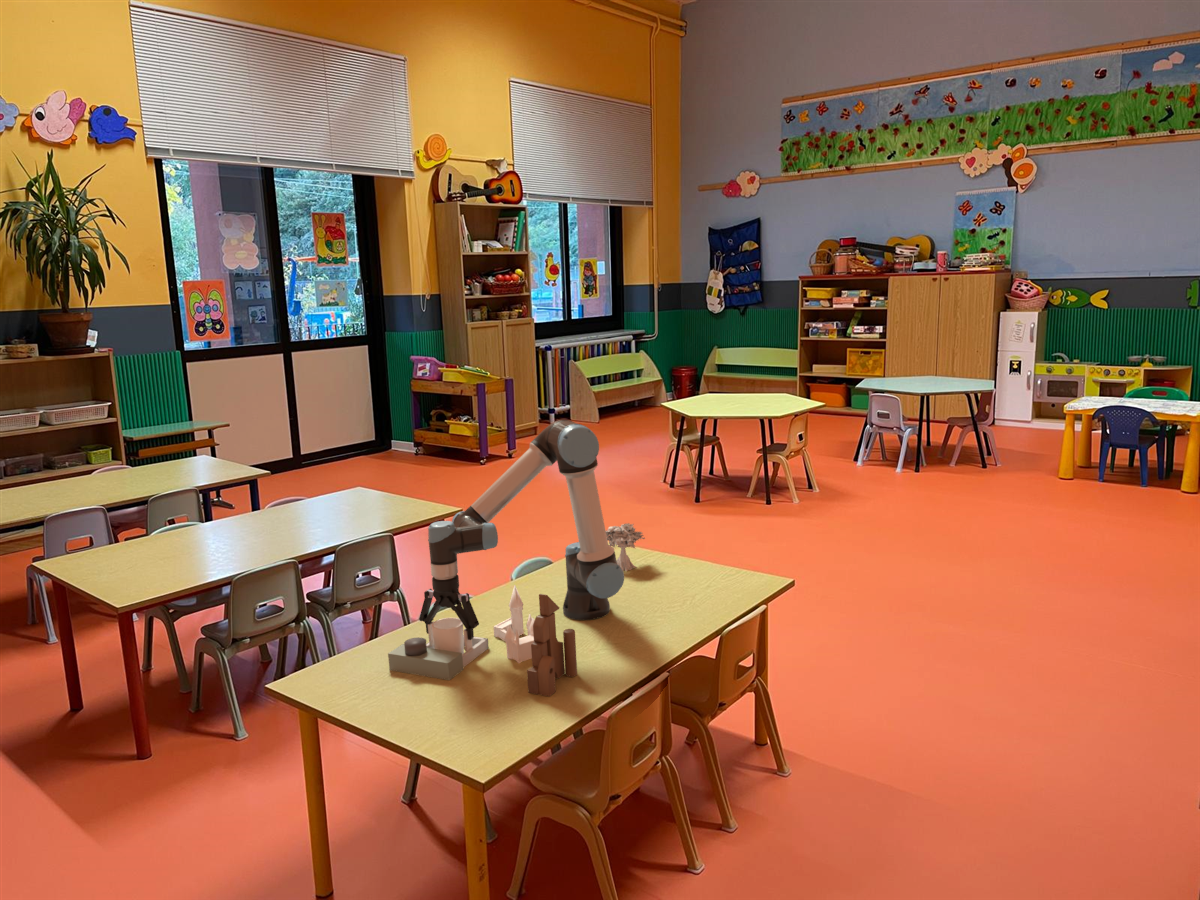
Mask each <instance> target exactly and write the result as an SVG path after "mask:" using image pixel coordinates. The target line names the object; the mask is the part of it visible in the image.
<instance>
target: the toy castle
mask: <svg viewBox="0 0 1200 900" xmlns="http://www.w3.org/2000/svg"><path fill="white" fill-rule="evenodd" d="M513 586H514V587H513V589H512V593H511V596H510V601H509V603H508V607H509V611H510V616H511V617H509V618H507V619H505V620H503V621H501V622H499V623H498V624H495V625H493V637H495V638H498V639H501V640H502V641H504V642H505V645H506V656H507V657H506V658H507V659H508V660H514V661H516V662H517V663H518V664H521V662H525V661H528V660H532V652H531V644H532V643H533V642H535V641H534V634H533V624H534V621H535V618H534V617H532V615H531V613H529V614H528V619H527V623H526V626H525V627H526V629H527V635H526V636H523V635H524V634H525V633H524V617H523V616H524V615H523V610H524V603H523V600H522V597H521V595H520V593H519V591H518V588H517V587H516V584H514V585H513ZM522 634H523V635H522ZM520 635H521V636H523V637H520Z"/></svg>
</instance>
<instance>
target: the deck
mask: <svg viewBox="0 0 1200 900" xmlns="http://www.w3.org/2000/svg"><path fill="white" fill-rule="evenodd" d="M463 639H464V634H463ZM464 647H465V642H464ZM488 649H489V638H487V637H479V636H474V638H473V639H472V648H470V649H469V650H468V651H464V654H462V653H459V652H453V651H446V650H440V649H435V646H434V645H432V646H429V642H428V643H427V640H426V638H424V637H420V636H419V637H411V638H409V639H407V640H405V641H404V642H403V643H402V644H400V645H399V646H397V647H396V648H394V649H393V650H391V651H389V652H388V653H387V657H388V669H389V671H393V672H400V673H404V674H411V675H417V676H422V677H428V678H433V679H440V680H446V681H450V680H452V679H453V678H454V677H455V676H457V675H459V674H460V673H461V672H462V671H464V668H465V667H466V666H467V665H468V664H470V663H472V662H473V660H475V659H476V658H478V657H479V656H480V655H481V654H483V653H484V652H485V651H487V650H488Z"/></svg>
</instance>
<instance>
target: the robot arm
mask: <svg viewBox="0 0 1200 900" xmlns="http://www.w3.org/2000/svg"><path fill="white" fill-rule="evenodd" d="M599 451H600V442H599V440H598V437H597V435H596V434H595V432H594V431H593V430H592V429H590V428H589V427H587V426H586V425H585V424H584V425H583V424H580V423H576V422H574V421H572V420H570V419H559V420H556V421H554V422H552V423H550V424H549V425H548V426H546V427H545V428H544V429H543V430H542V431H540V433H539V434H538V435H537V436H536V437H534V439H532V440H531V442H529V448H528V449H527V450H526V451H525V452H524V453H523V454H522V455H521V456H520V457H519V458H518V459H517V460H516V461H515V462H514V463H512V464H511V465H510V467H508V469H506V471H505V472H504V473H502V475H500V476H499V477H498V478H497V479H496V480H495V481H494V482H493V483H492V484H491V485H490V486H489V487H488V488H487V489H486V490H485V491H484V492H483V493H482V494H481V495H480V496H479V497H477V499H476V500H475V501H474V502H473V503H472V504H471V505H470V506H469V507H467V508H466V510H462V511H459V512H457V513H455V515H453V517H452V519H451V520H440V521H439V520H438V521H434V522H432V523H430V525H428V528H427V529H428V530H427V532H428V533H427V535H428V538H427V541H428V547H429V559H430V572H431V576H432V577H431V585H432V588H428V589H427V590H425V591H424V592H423V593H424V595H423V596H424V599H423V604H422V608H421V611H420V613H419V617H418V619H419V622H424V624H425V630H426V631H425V632H426V635H427V634H428V643H429V646H432V645H434V639H433V632H432V623H433V622H435V621H436V620H434V618H435V617H436V615H437V614H438V612H439V610H440V608H448V609H451V610H452V611H454V613H455V615H457V618H459V619H460V620H461V622H462V623H463V627H464V628H463V635H464V642H465V646H464V652H466V651H468V650H469V649H470V648H472V639H473V638H474V637H475V636H474V629H476V627H478V626H479V625H480V622H479V620H478V618H477V615H476V613H475V610H474V608H473V605H472V603H471V600H470V594H469V593H468V592H466V593H460V590H459V588H460V580H459V575H458V574H459V568H458V567H459V566H458V555H459V554H465V553H473V552H479V551H487V550H491V549H494V548H496V547H497V546H498V543H499V535H498V530H497V527H496V524H495V523H494V522H491V521H492V520H493V519H494V518H495V517H496V516H497V515H498V514H499V513H500V512H501V511H502V510H503V509H504V508H505V507H506V506H507V505H508V504H509V503H510V502H512V500H514V498H515V497H516V496H518V495H519V493H520V492H522V491H523V489H524V488H526V487H527V485H529V484H530V483H531V482H532V481H533V480H534V479H535V478H536V477H537V476H538V475H539V474H540V473H541V472H542V471H543V470H544V469H545V468H546V467H548V466H549V467H551V466H553V465H554V464H555V463H556V462H557V466H558V471H559V474H561V475H563V476H564V477H565V481H566V484H567V490H568V494H569V495H568V496H569V499H570V505H571V510H572V515H573V518H574V525H575V529H576V533H577V540H578V542H577V541H576V542H573V543H570V544H568V545H567V546H566V547H565V555H564V557H565V569H566V588H567V590H566V593H565V597H564V600H563V601H564V602H563V605H562V614H563V615H564V616H565V617H566V618H568V619H571V620H577V621H591V620H597V619H601V618H603V617H605V616H607V615H609V614H610V612H611V607H610V601H609V598H611V597H613V596H615V595H616V594H617V593H619V591H620V590H621V588H622V587H623V585H624V582H625V573H624V571H623V570H622V568H621V567H620V566H619V565H618V564H617V557H616V552H615V547H614V548H613V547H612V546H610V544H609V540H608V541H607V536H606V526H605V521H604V517H603V510H602V506H601V501H600V496H599V490H598V486H597V480H596V475H595V470H596V468H597V467H598V466H599V464H598V463H599V462H598V459H597V456H598V455H599ZM433 598H434V599H435V601H434V603H433V606H432V601H433ZM431 606H432V608H431Z"/></svg>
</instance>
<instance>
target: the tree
mask: <svg viewBox="0 0 1200 900" xmlns="http://www.w3.org/2000/svg"><path fill="white" fill-rule="evenodd" d="M634 524H635V523H629V522H628V523H623V524H621V525H620V526H618V525H613V526H608V528H607V530H606V529H605V530H606V536H607V541H608V545H610V546H611V547H613V548H614V549H615V548H620V553H619V557H618V558H616V561H617V564H618V565H619V566H620V567H621V568H622V570H623V572H624V571H625V572H627V571H631V570H633V569H637V568H638V567H637V566H636V565H634V564H633V562H632V561H631V559H630V557H629V555H628V554H627V550H626V548H632V549H636V546H635V543H637V541H639V540H642V539H643V540H645V539H646V538H645V537H644V533H643V532H642V531H637V530H636V528H635V527H634Z"/></svg>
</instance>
